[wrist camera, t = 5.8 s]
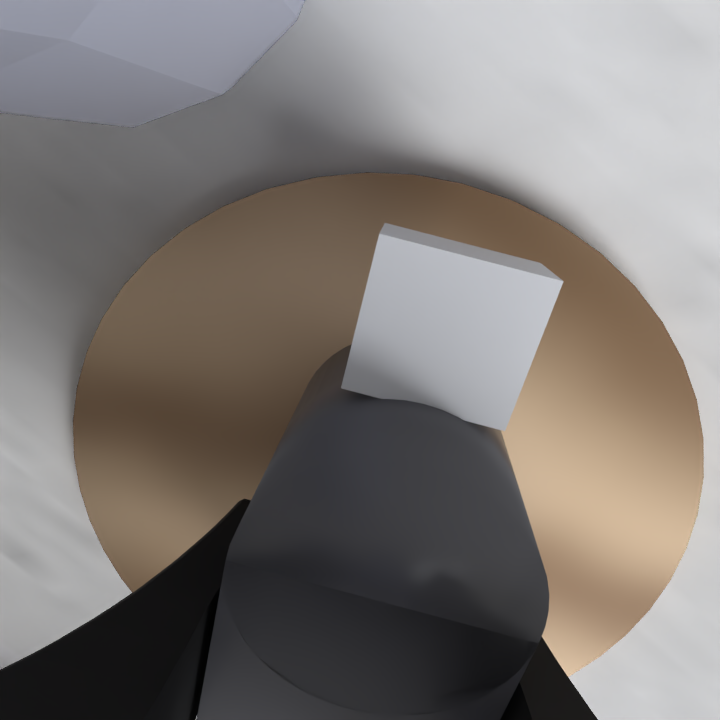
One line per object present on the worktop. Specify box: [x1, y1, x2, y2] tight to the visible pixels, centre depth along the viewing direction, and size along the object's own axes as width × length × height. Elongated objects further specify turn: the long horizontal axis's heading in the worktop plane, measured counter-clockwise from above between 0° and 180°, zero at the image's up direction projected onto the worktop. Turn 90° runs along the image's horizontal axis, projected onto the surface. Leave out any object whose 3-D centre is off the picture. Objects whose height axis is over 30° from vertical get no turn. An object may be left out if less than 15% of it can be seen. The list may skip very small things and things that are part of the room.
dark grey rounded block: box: [197, 223, 564, 720], centre depth 10 cm, size 12×4×5 cm, turn 166°
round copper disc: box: [73, 172, 704, 677], centre depth 14 cm, size 16×16×1 cm
